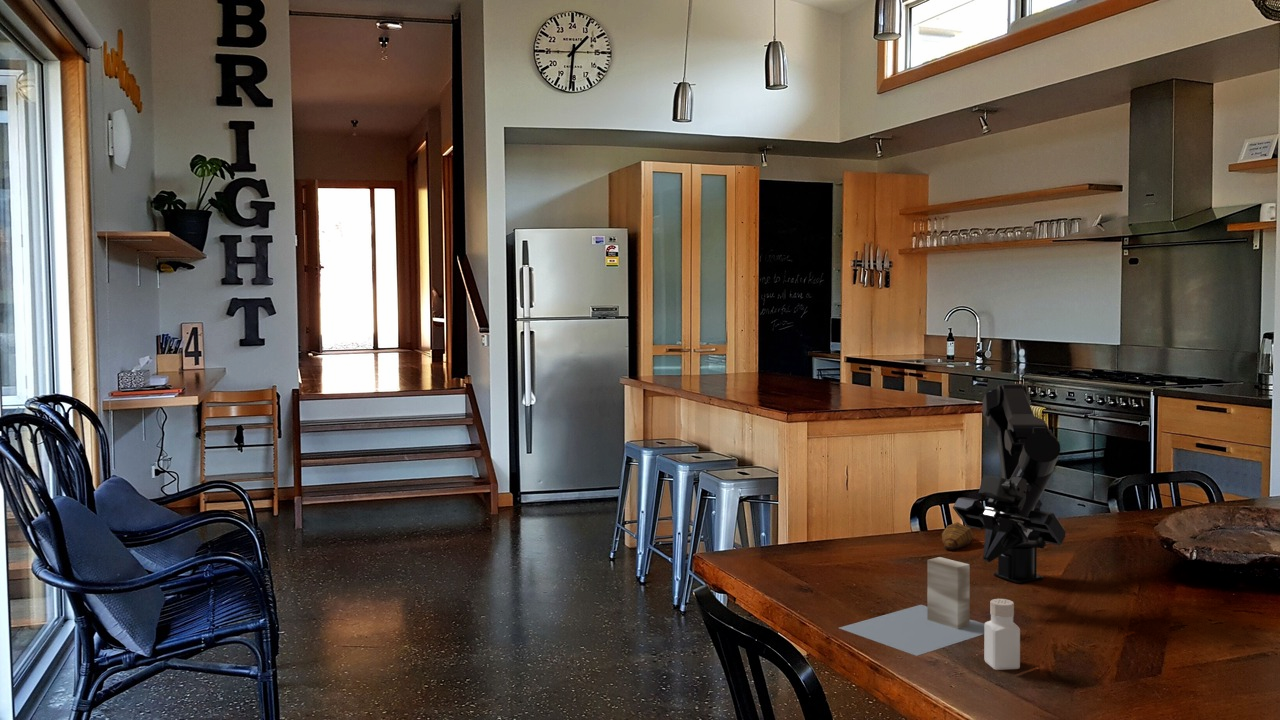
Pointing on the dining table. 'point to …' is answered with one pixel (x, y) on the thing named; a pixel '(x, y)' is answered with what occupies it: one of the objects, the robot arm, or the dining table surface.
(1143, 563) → the dining table surface
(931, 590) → the beige streaked block
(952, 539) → the croissant
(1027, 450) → the robot arm
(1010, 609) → the pepper shaker
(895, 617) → the mat
